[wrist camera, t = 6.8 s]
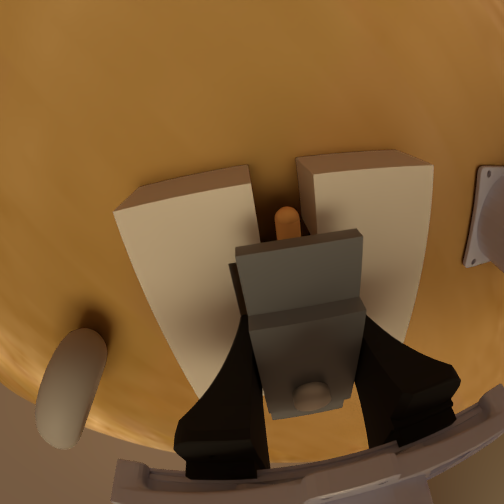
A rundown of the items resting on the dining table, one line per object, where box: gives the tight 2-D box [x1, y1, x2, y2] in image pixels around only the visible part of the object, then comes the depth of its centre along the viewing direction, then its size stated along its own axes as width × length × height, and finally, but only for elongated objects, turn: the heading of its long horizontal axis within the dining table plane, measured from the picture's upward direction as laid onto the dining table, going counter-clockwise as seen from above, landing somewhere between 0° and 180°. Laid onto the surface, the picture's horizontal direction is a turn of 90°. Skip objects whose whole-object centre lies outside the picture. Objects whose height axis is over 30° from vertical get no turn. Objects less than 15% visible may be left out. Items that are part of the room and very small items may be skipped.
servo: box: [235, 206, 367, 420], centre depth 12 cm, size 4×11×6 cm, turn 9°
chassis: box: [113, 150, 434, 399], centre depth 15 cm, size 14×14×4 cm
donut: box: [35, 328, 107, 449], centre depth 15 cm, size 10×4×10 cm, turn 148°
